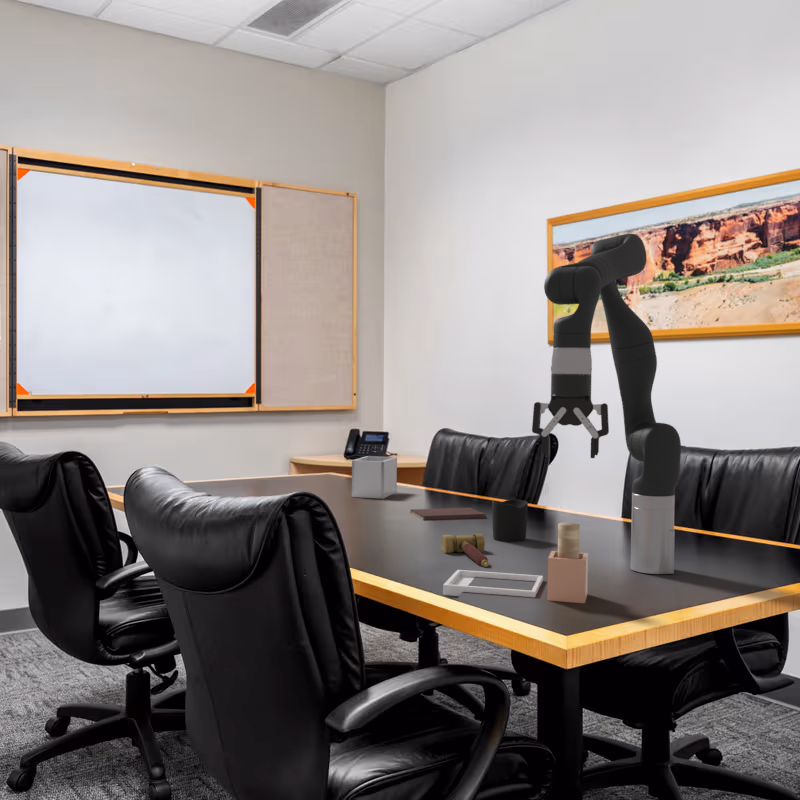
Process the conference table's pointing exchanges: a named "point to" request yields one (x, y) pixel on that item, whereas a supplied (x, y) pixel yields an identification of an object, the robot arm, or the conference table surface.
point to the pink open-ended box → (567, 578)
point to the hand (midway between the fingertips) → (569, 457)
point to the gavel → (466, 546)
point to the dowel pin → (568, 540)
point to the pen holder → (509, 520)
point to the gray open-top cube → (374, 477)
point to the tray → (464, 578)
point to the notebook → (448, 514)
